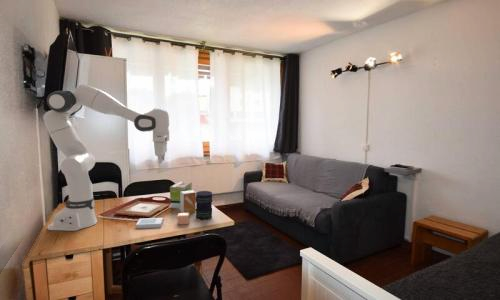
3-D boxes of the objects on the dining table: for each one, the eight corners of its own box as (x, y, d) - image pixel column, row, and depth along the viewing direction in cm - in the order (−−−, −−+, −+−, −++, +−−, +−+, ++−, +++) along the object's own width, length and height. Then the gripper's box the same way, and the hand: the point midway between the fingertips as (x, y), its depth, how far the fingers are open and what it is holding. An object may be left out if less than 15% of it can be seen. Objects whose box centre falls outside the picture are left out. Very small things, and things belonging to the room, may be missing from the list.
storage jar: (197, 221, 156) (197, 196, 155) (194, 215, 165) (194, 191, 164) (214, 219, 160) (214, 194, 158) (210, 213, 169) (210, 190, 167)
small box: (183, 214, 167) (183, 193, 166) (180, 211, 172) (179, 191, 171) (195, 212, 171) (195, 192, 170) (192, 209, 177) (192, 189, 175)
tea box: (178, 201, 193) (178, 181, 191) (192, 202, 191) (192, 181, 190) (169, 208, 178) (169, 186, 176) (184, 209, 177) (184, 187, 175)
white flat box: (135, 228, 144) (135, 224, 144) (139, 221, 153) (139, 218, 153) (161, 227, 147) (161, 223, 146) (163, 220, 155) (163, 217, 155)
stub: (177, 224, 150) (177, 215, 149) (178, 221, 155) (178, 212, 154) (188, 223, 151) (188, 215, 150) (189, 220, 156) (189, 212, 155)
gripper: (158, 136, 162) (158, 159, 163) (152, 138, 142) (152, 164, 143) (169, 136, 163) (169, 159, 164) (164, 138, 143) (164, 164, 144)
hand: (161, 161), depth 154 cm, fingers open, 8 cm apart
